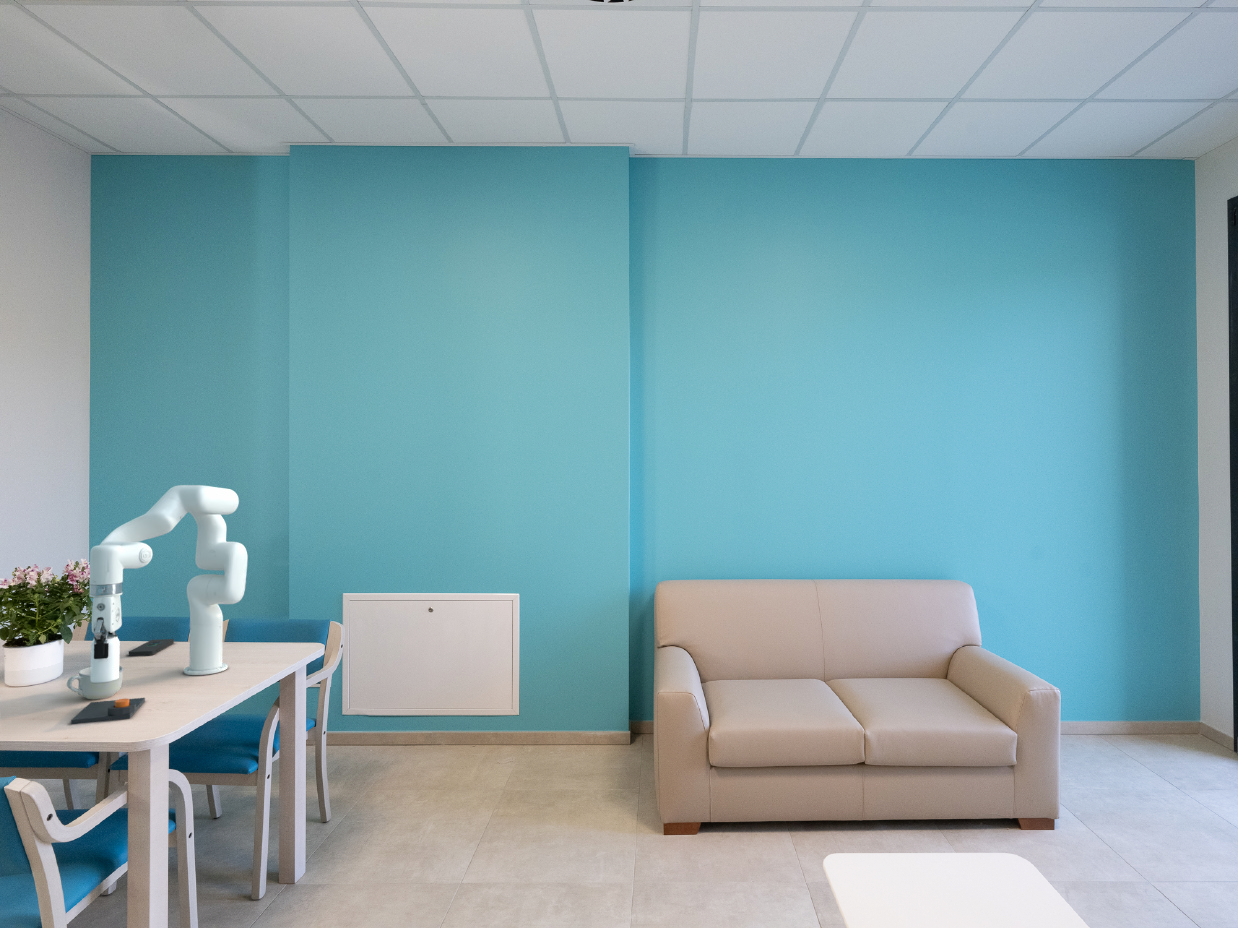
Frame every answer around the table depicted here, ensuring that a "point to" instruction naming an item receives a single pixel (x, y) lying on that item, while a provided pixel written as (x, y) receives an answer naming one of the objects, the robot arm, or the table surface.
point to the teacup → (95, 685)
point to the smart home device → (151, 647)
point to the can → (106, 663)
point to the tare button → (121, 703)
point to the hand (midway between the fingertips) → (105, 654)
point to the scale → (107, 711)
